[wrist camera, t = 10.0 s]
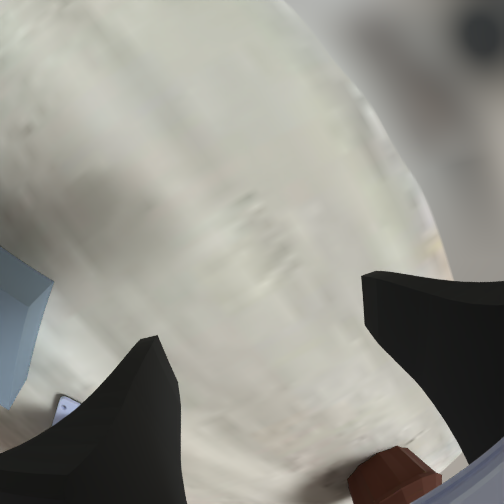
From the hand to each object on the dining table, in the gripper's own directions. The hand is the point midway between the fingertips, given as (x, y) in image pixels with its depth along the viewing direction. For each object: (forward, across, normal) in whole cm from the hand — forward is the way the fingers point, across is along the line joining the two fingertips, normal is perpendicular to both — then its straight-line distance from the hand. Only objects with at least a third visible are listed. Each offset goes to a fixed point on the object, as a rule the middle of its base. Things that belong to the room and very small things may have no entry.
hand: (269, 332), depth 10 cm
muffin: (+10, -11, +32) cm, 35 cm away
